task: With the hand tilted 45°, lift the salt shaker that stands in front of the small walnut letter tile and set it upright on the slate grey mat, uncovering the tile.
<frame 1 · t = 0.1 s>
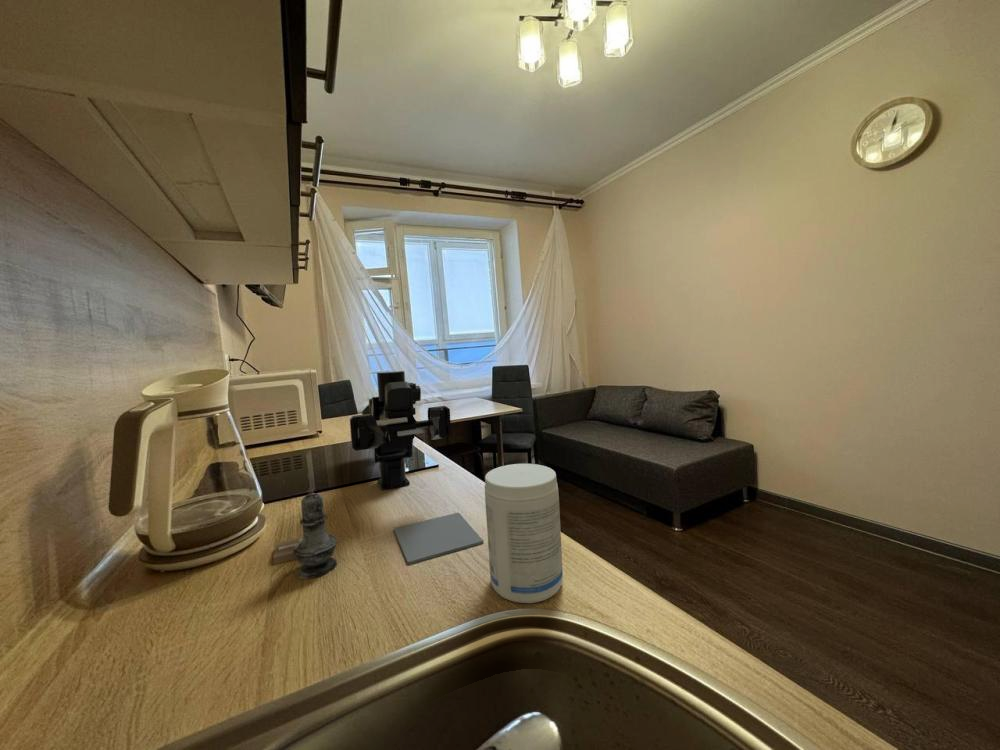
hand: (411, 435, 65), 17 cm above the kitchen counter, tool horizontal, fingers open, 9 cm apart
supplement tub: (525, 583, 49), on the kitchen counter
letter tile: (294, 554, 60), on the kitchen counter
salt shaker: (317, 569, 55), on the kitchen counter
slate mat: (436, 536, 63), on the kitchen counter
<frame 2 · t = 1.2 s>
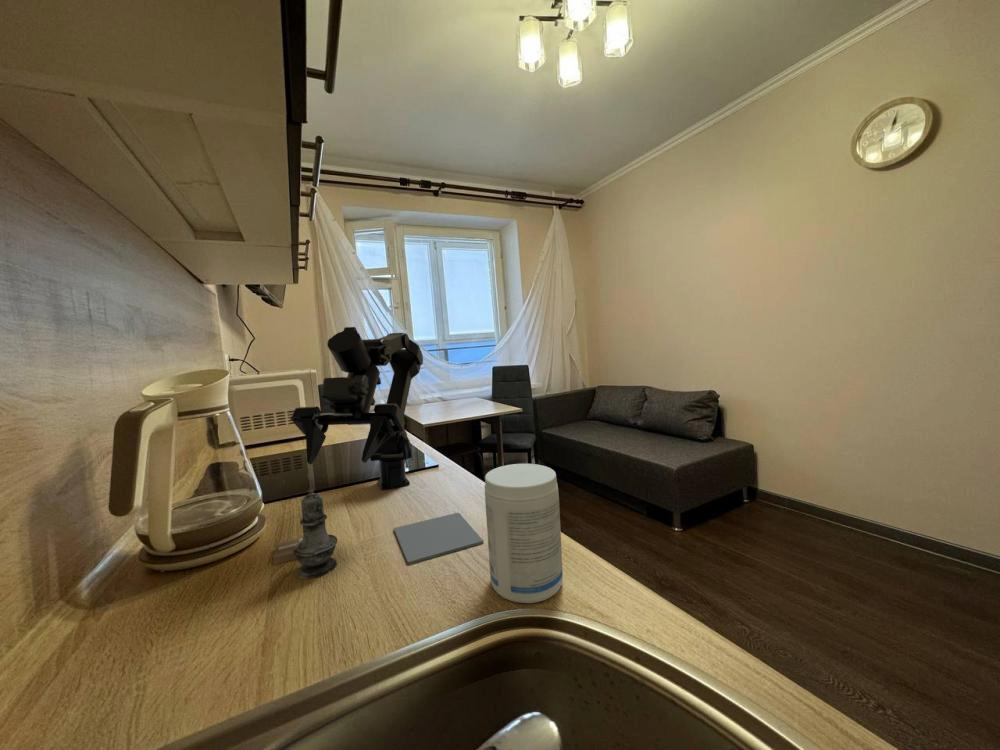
hand: (336, 462, 62), 13 cm above the kitchen counter, tool tilted 45°, fingers open, 9 cm apart
nothing on the kitchen counter moved.
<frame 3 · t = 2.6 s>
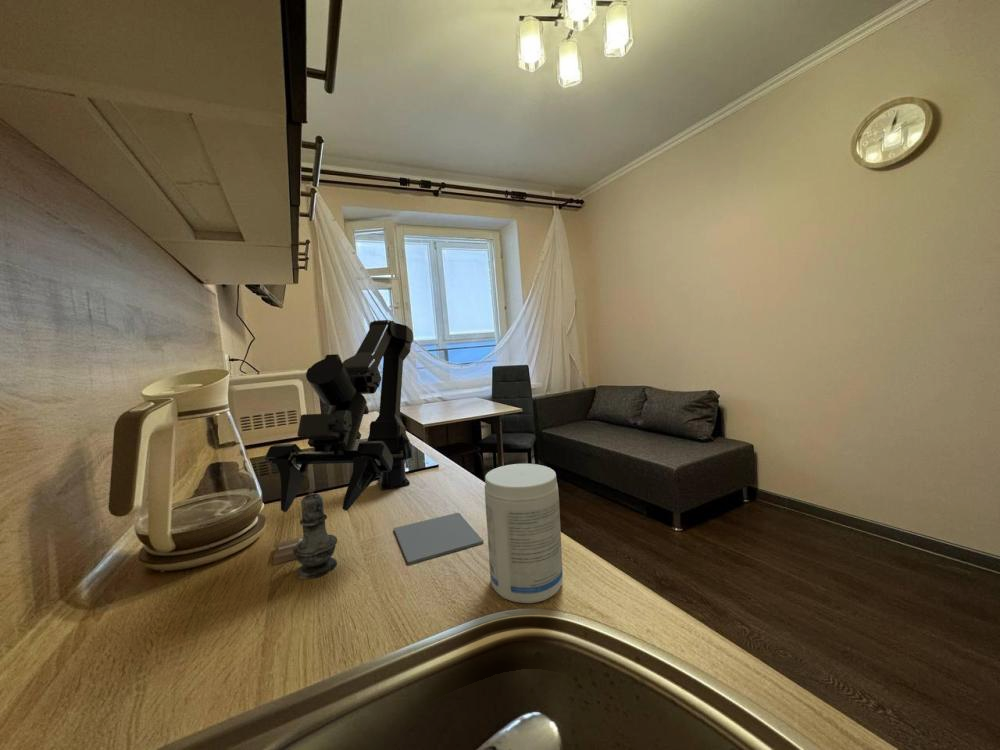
hand: (314, 510, 55), 9 cm above the kitchen counter, tool tilted 45°, fingers open, 9 cm apart
nothing on the kitchen counter moved.
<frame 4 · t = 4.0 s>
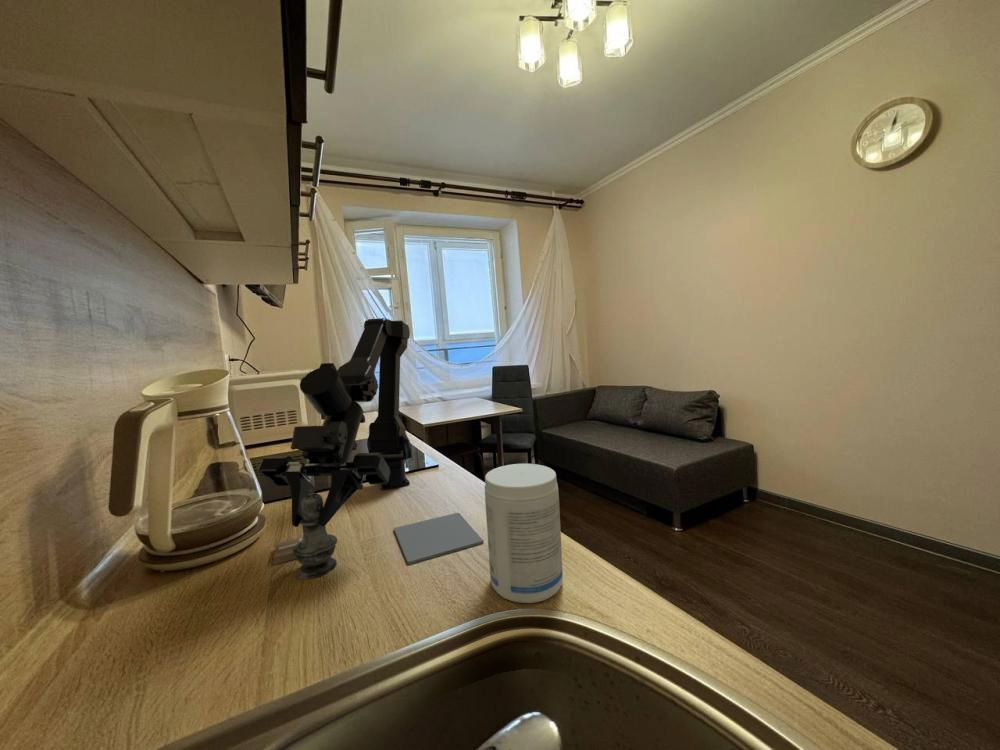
hand: (308, 525, 53), 7 cm above the kitchen counter, tool tilted 45°, fingers closed on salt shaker, 4 cm apart
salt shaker: (317, 569, 55), on the kitchen counter, touching gripper
everything else where it was.
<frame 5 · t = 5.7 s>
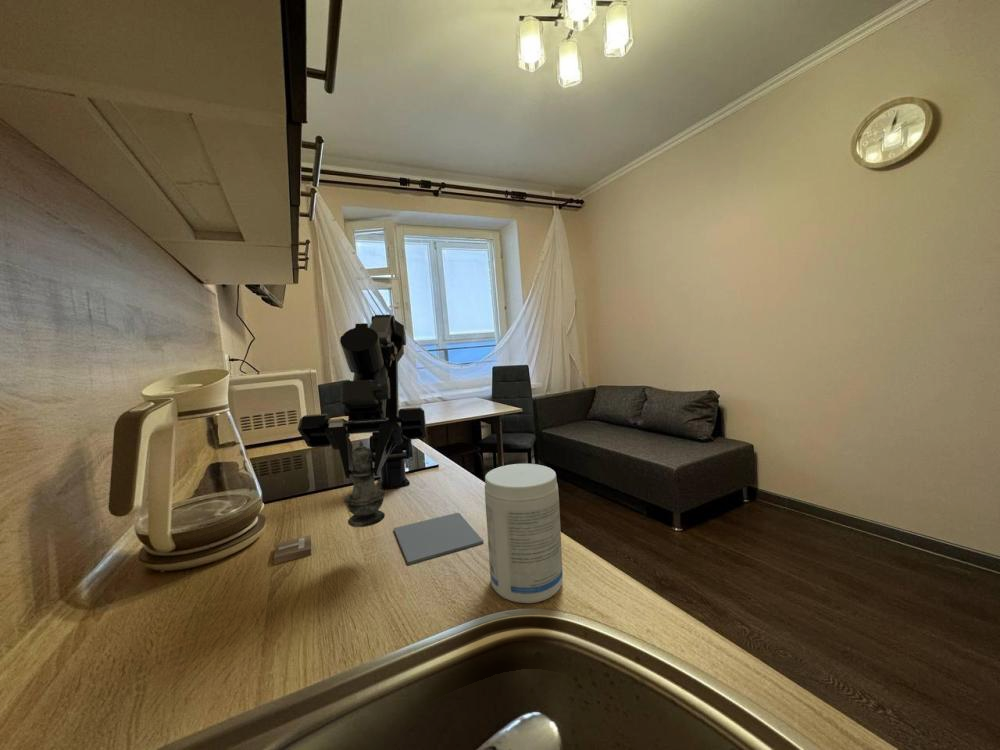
hand: (361, 476, 55), 13 cm above the kitchen counter, tool tilted 45°, fingers closed on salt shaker, 4 cm apart
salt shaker: (366, 520, 57), point 6 cm above the kitchen counter, touching gripper
everything else where it was.
when the fingers open (8 cm above the kitchen counter, at t = 8.0 s): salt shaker stays where it is, resting on slate mat.
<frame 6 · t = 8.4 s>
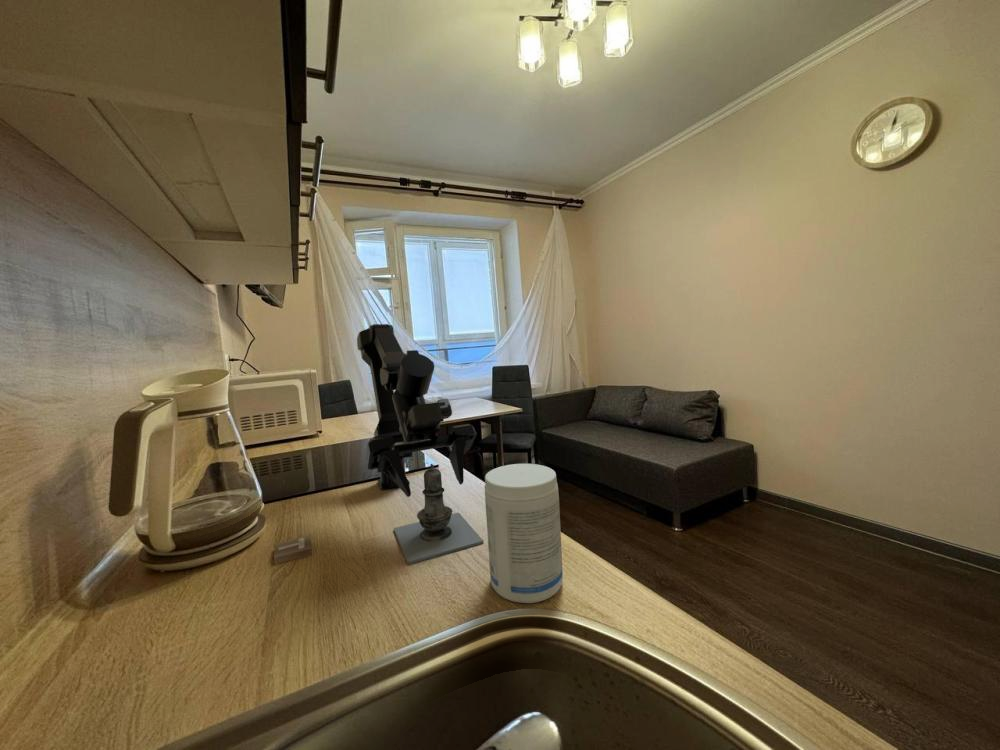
hand: (436, 489, 61), 9 cm above the kitchen counter, tool tilted 45°, fingers open, 9 cm apart
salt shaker: (436, 534, 63), resting on slate mat
everything else where it was.
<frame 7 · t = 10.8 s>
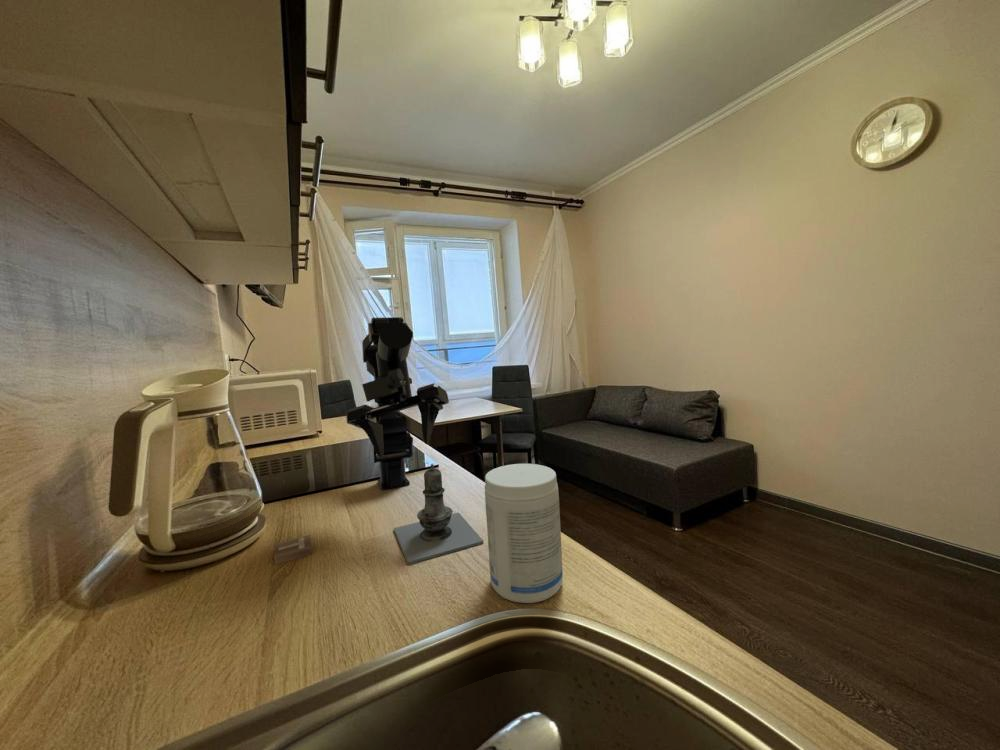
hand: (403, 450, 68), 13 cm above the kitchen counter, tool tilted 30°, fingers open, 9 cm apart
nothing on the kitchen counter moved.
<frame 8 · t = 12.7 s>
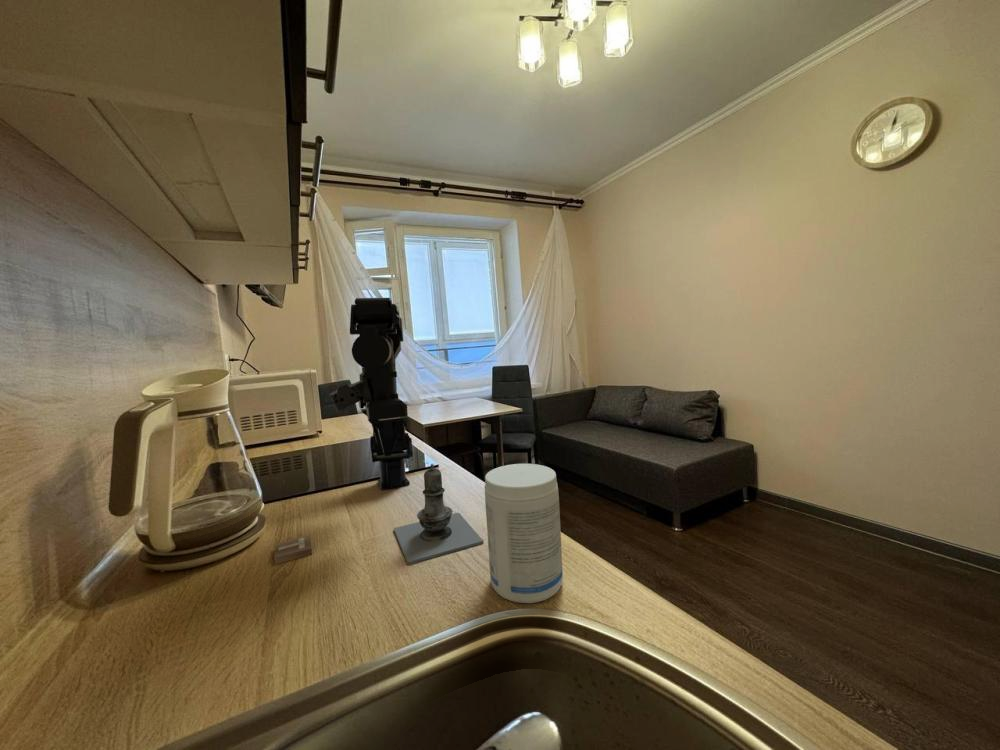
hand: (383, 449, 70), 13 cm above the kitchen counter, tool pointing down, fingers open, 9 cm apart
nothing on the kitchen counter moved.
at the end: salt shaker 0.2 cm off-centre on the slate mat, point 0.2 cm above the slate mat's base; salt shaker tilted 0°; letter tile moved 0.5 cm from its start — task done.
